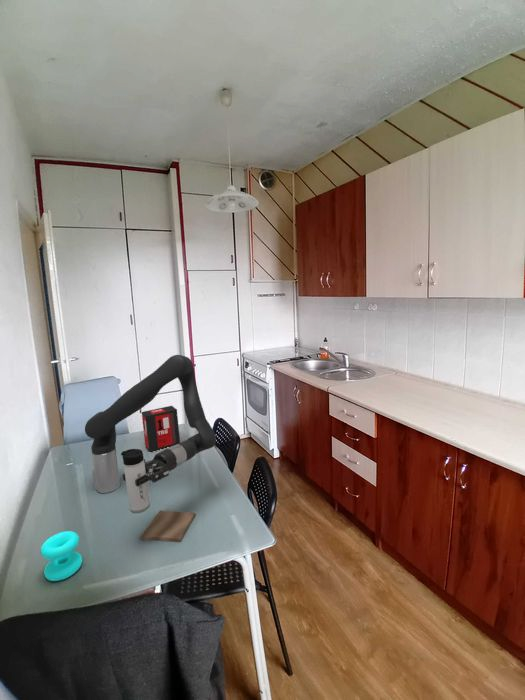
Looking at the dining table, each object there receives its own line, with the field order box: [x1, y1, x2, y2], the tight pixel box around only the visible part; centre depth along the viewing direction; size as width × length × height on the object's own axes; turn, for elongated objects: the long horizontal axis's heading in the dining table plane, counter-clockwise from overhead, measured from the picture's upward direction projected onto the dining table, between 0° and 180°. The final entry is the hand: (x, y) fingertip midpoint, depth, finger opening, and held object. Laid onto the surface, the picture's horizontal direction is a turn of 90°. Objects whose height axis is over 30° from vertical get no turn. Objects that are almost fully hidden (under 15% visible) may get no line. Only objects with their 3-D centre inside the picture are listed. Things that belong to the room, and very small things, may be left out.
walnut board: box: [140, 510, 197, 543], centre depth 123 cm, size 14×14×1 cm
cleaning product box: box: [141, 405, 181, 453], centre depth 189 cm, size 16×9×20 cm, turn 122°
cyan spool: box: [40, 530, 83, 582], centre depth 105 cm, size 10×10×10 cm
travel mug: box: [120, 448, 151, 514], centre depth 113 cm, size 6×7×20 cm
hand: (129, 480), depth 111 cm, fingers closed on travel mug, 6 cm apart
